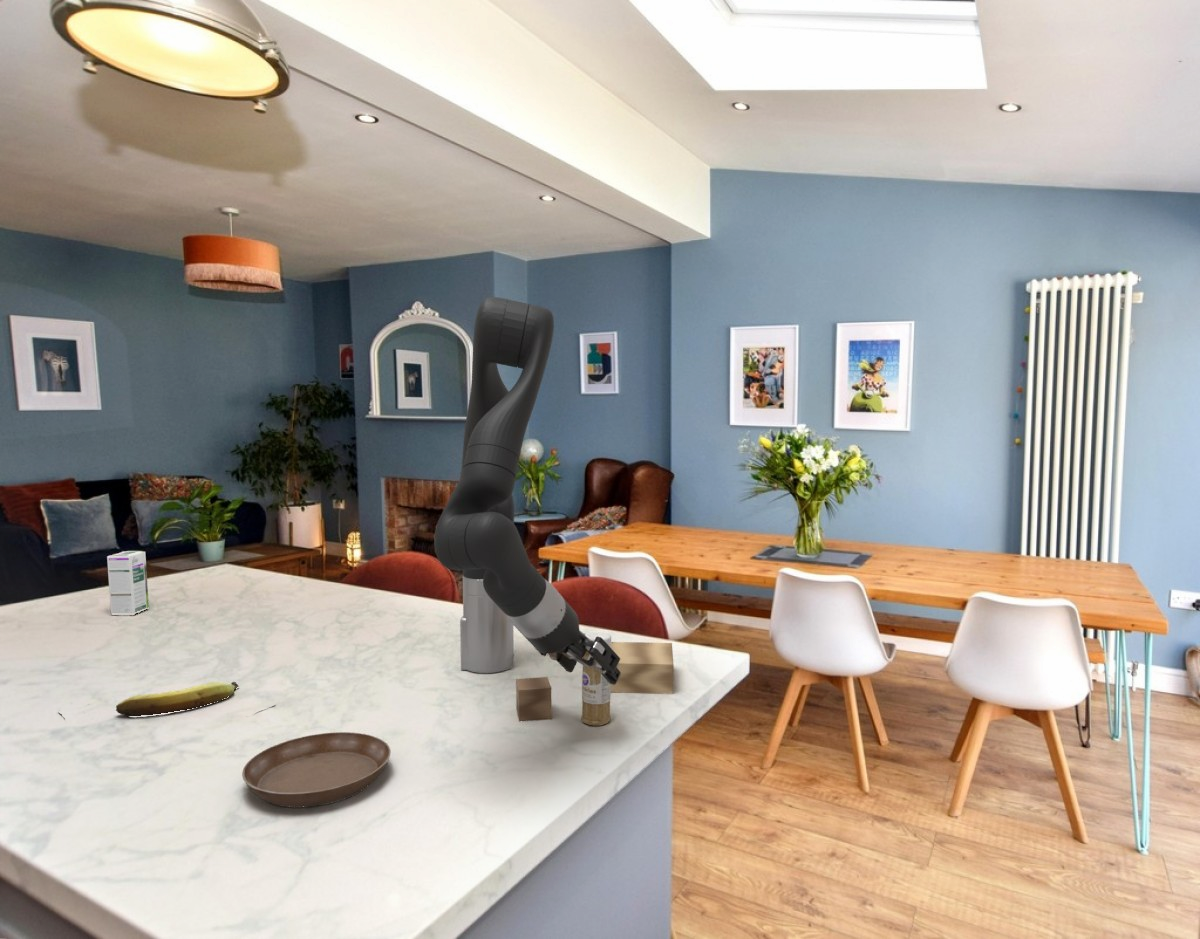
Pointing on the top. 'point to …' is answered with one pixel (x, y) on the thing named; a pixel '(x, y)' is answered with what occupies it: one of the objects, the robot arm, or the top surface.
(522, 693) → the walnut cube
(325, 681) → the top surface
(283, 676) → the top surface
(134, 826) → the top surface
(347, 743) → the plant saucer
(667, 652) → the oak block
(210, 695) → the banana
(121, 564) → the syrup box
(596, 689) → the sprinkles bottle
